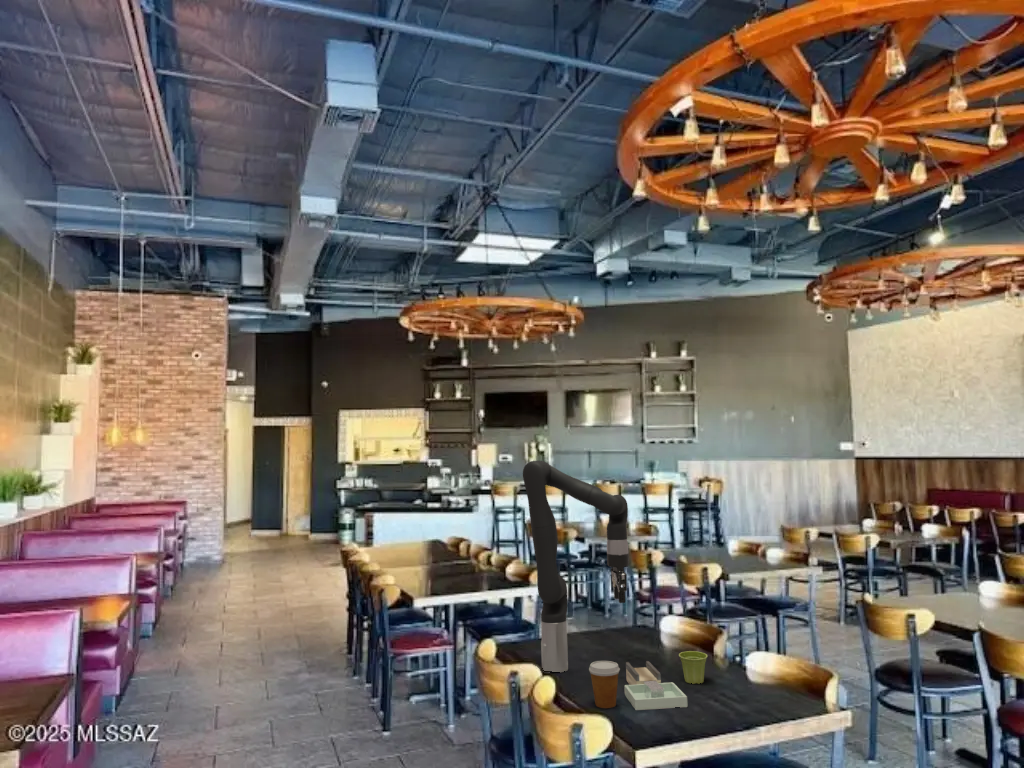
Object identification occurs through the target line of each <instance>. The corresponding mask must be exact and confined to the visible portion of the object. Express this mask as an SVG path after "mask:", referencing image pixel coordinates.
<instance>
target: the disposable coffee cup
mask: <svg viewBox="0 0 1024 768" xmlns="http://www.w3.org/2000/svg"><path fill="white" fill-rule="evenodd" d="M620 670H621V668H620V667H619V664H618V663H617V662H616V661H615V662H614V661H610V660H595V661H593V662H591V663H590V665H589V668H588V671H589V673H590V678H591V684H592V691H593V696H594V704H595V706H596V707H597V708H600V709H612V708H614V707H616V705H617V696H618V695H617V694H618V680H619V672H620Z"/></svg>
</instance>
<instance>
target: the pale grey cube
mask: <svg viewBox="0 0 1024 768" xmlns="http://www.w3.org/2000/svg"><path fill="white" fill-rule="evenodd" d="M647 687H648V698H660V697H664V689H663V687H662V686H661V685H648V686H647Z"/></svg>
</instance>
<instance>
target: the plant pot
mask: <svg viewBox="0 0 1024 768" xmlns="http://www.w3.org/2000/svg"><path fill="white" fill-rule="evenodd" d="M678 657H679V659H680V661H681V665H682V672H683V675H684V676H683V677H684V682H686V683H688V684H691V683H692V684H691V685H694V684H698V685H700V683H701V684H703V683H704V682H705V681H704V680H705V667H706V662H707V658H708V654H707V653H705V652H701V651H696V650H689V651H682V652H680V653H678Z"/></svg>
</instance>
